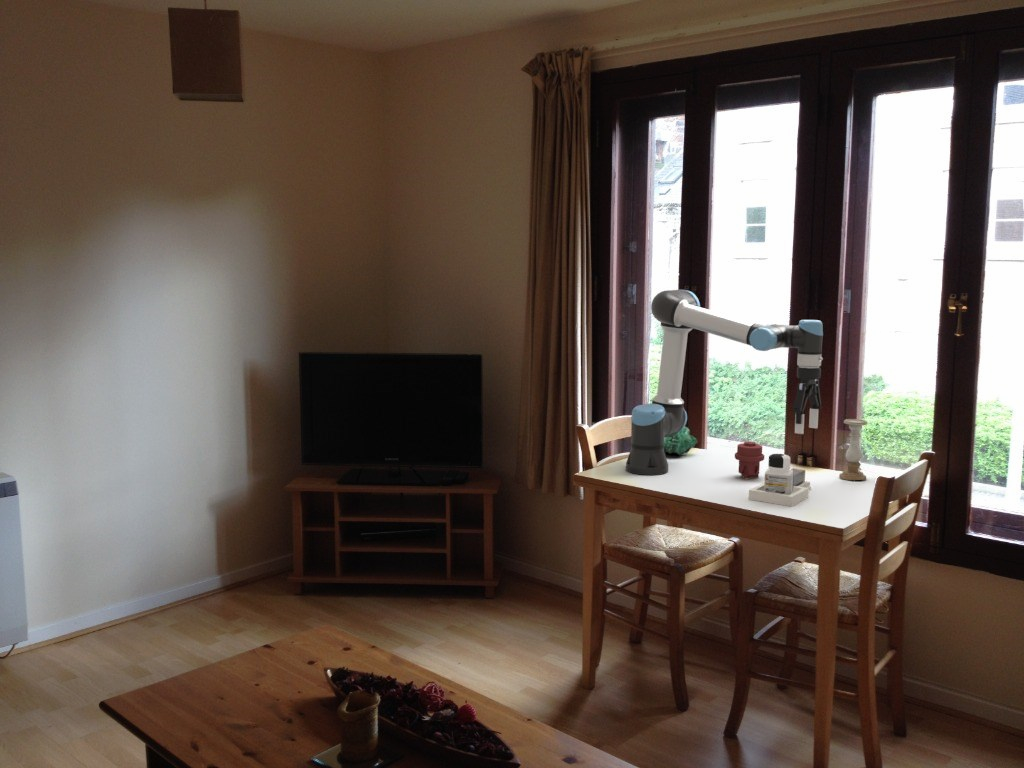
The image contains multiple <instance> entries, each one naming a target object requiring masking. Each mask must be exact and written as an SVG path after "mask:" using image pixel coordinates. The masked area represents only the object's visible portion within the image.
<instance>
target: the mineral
mask: <svg viewBox="0 0 1024 768" xmlns="http://www.w3.org/2000/svg"><path fill="white" fill-rule="evenodd" d="M697 443H698V440H697V438H696V437H694V436H693V435H691V434H690V428H689V427H687V426H685V427H684V428H683V429H682V430H681V431H680V432H678V433H677V434H675V435H672V436H668V437H664V452H665V454H667V453H668V454H672V453H674V454H677V455H678V456H679V457H681V456H683V455H684V454H687V453H688V452H690V450H691V449H693V447H695V446H696V445H697Z"/></svg>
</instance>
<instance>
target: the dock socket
mask: <svg viewBox="0 0 1024 768" xmlns="http://www.w3.org/2000/svg"><path fill="white" fill-rule="evenodd" d="M810 482H811V481H806V480H805V482H804V483H802V484H800V485H798V486H794V487H793V490H792V494H791V495H785V494H779V493H773V492H766V491H764V482H763V483H762V482H761V483H760V484H758V485H756V486H754V487H752V488H750V489H749V490H748V500H751V501H756V502H757V501H758V502H764V503H768V504H769V503H770V504H776V505H782V506H787V507H793V506H795V505H797V504H799V503H801V502H802V501H804V500H806V499H807V498H809V491H810V490H811V489H812V485H811V483H810Z"/></svg>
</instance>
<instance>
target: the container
mask: <svg viewBox="0 0 1024 768" xmlns="http://www.w3.org/2000/svg"><path fill="white" fill-rule="evenodd" d="M763 483H764V491H766V492H773V493H779V494H785V495H791V494H792V484H793V470H791V456H789V455H788V454H783V453H772V454H770V455H769V456H768V467H767V469H766V471H765V472H764V482H763Z"/></svg>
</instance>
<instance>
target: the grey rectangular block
mask: <svg viewBox="0 0 1024 768" xmlns="http://www.w3.org/2000/svg"><path fill="white" fill-rule="evenodd" d="M790 470H793V484H792V490H793V487H794V486H798V485H800V484H802V483H804V482H806V469H802V468H794V467H792V468H790Z"/></svg>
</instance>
